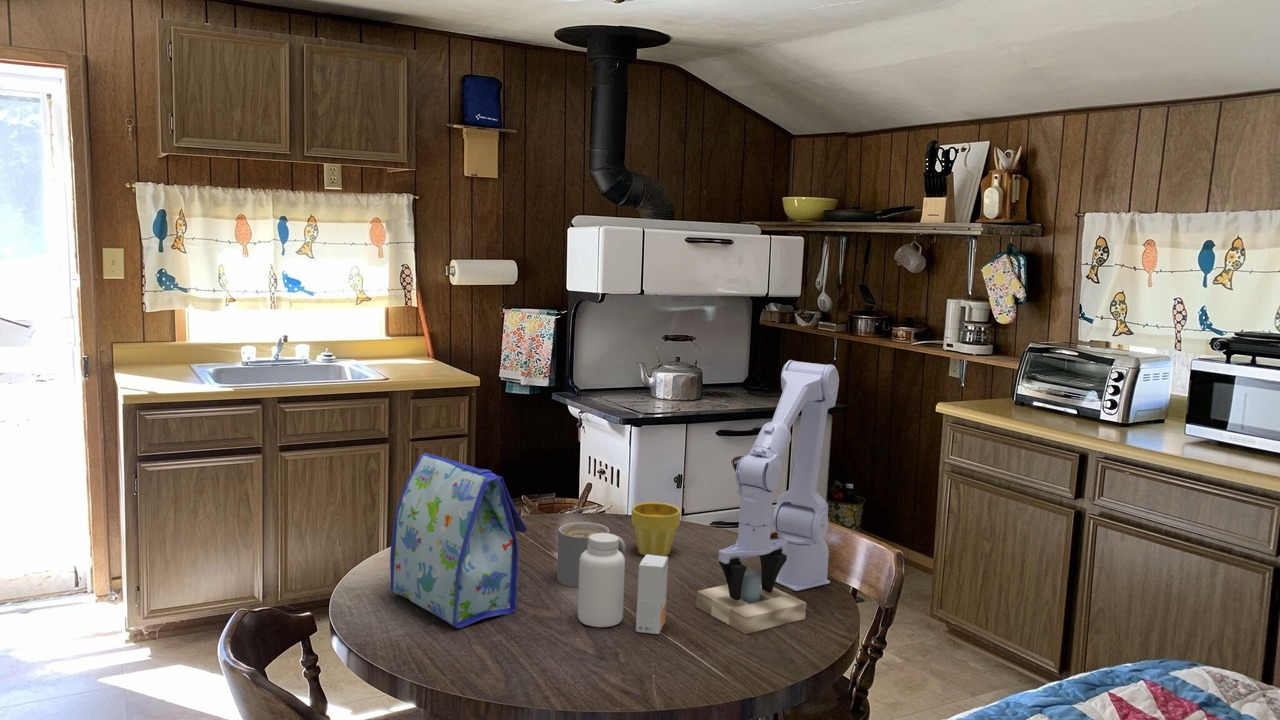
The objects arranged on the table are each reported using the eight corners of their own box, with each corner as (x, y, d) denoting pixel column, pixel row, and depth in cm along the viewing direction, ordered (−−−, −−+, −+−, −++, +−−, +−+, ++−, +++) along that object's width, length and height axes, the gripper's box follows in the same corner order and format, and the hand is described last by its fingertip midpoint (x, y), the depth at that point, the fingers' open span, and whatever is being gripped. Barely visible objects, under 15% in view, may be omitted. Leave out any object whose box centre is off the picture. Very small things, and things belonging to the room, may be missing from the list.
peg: (750, 607, 177) (752, 570, 176) (762, 613, 174) (764, 576, 173) (734, 610, 175) (736, 573, 174) (746, 617, 172) (749, 579, 171)
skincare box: (659, 635, 162) (662, 567, 161) (635, 632, 163) (637, 564, 162) (666, 621, 168) (668, 556, 167) (642, 618, 169) (644, 553, 168)
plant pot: (679, 562, 200) (681, 516, 198) (629, 560, 200) (631, 514, 199) (677, 546, 210) (679, 502, 209) (630, 544, 210) (632, 501, 209)
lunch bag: (531, 609, 172) (534, 467, 168) (454, 634, 160) (456, 482, 156) (456, 576, 187) (458, 445, 183) (381, 597, 175) (382, 457, 171)
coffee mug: (557, 588, 182) (559, 537, 181) (556, 570, 192) (557, 521, 191) (627, 587, 184) (629, 537, 183) (622, 570, 194) (624, 522, 192)
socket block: (754, 593, 183) (755, 578, 183) (805, 618, 172) (806, 602, 172) (696, 606, 176) (696, 591, 175) (745, 634, 164) (746, 617, 164)
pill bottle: (629, 615, 171) (632, 533, 169) (613, 631, 163) (616, 546, 161) (588, 607, 173) (590, 527, 171) (570, 624, 166) (572, 540, 164)
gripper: (770, 511, 179) (766, 580, 181) (709, 521, 171) (705, 594, 173) (796, 521, 173) (792, 593, 175) (734, 532, 165) (730, 607, 167)
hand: (751, 594), depth 173 cm, fingers open, 7 cm apart
